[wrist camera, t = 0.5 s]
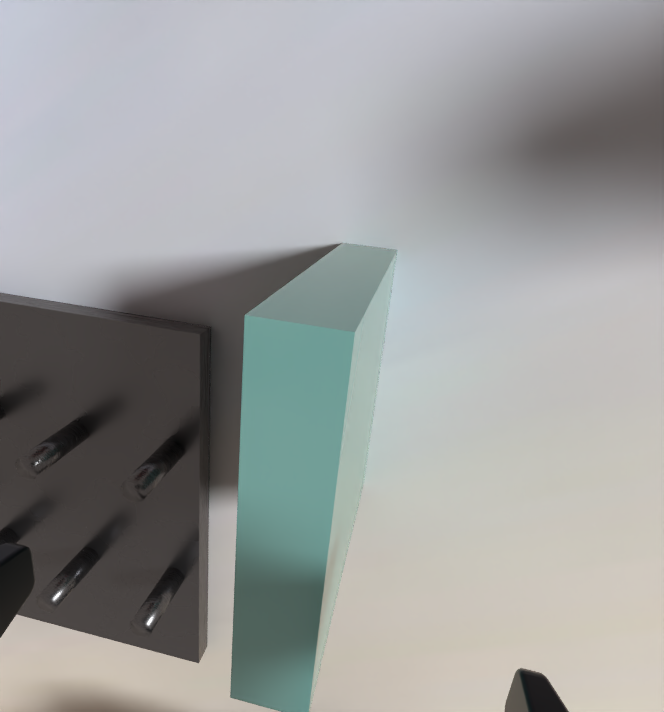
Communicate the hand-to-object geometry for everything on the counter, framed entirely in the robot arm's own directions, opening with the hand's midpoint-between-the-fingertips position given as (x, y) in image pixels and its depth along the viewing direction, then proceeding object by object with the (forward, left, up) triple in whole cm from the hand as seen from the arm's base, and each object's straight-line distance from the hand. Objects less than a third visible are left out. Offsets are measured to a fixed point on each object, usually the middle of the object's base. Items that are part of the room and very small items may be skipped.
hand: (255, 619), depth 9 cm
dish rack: (-8, +14, -12) cm, 20 cm away
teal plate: (0, 0, -12) cm, 12 cm away
